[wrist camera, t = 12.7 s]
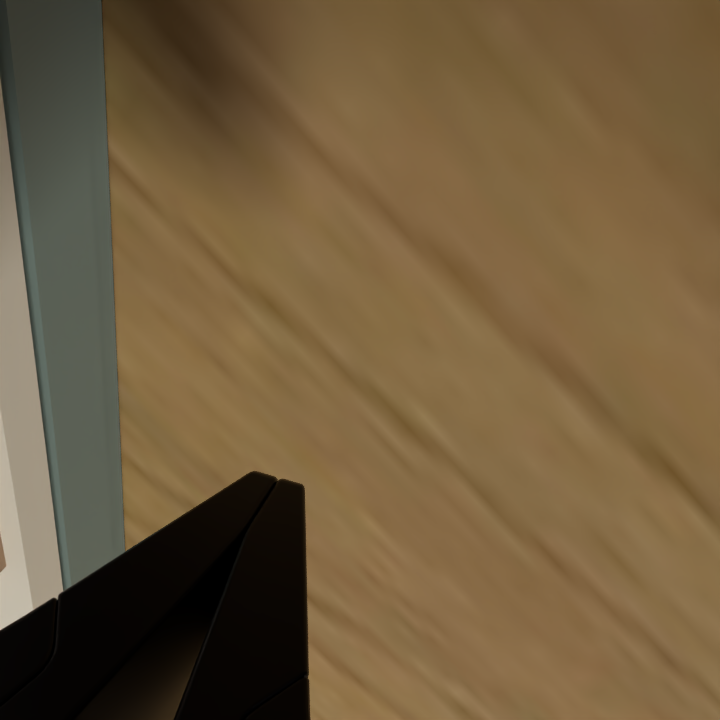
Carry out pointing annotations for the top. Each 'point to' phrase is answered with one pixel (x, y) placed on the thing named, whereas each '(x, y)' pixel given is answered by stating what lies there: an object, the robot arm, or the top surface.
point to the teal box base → (67, 262)
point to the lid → (21, 432)
